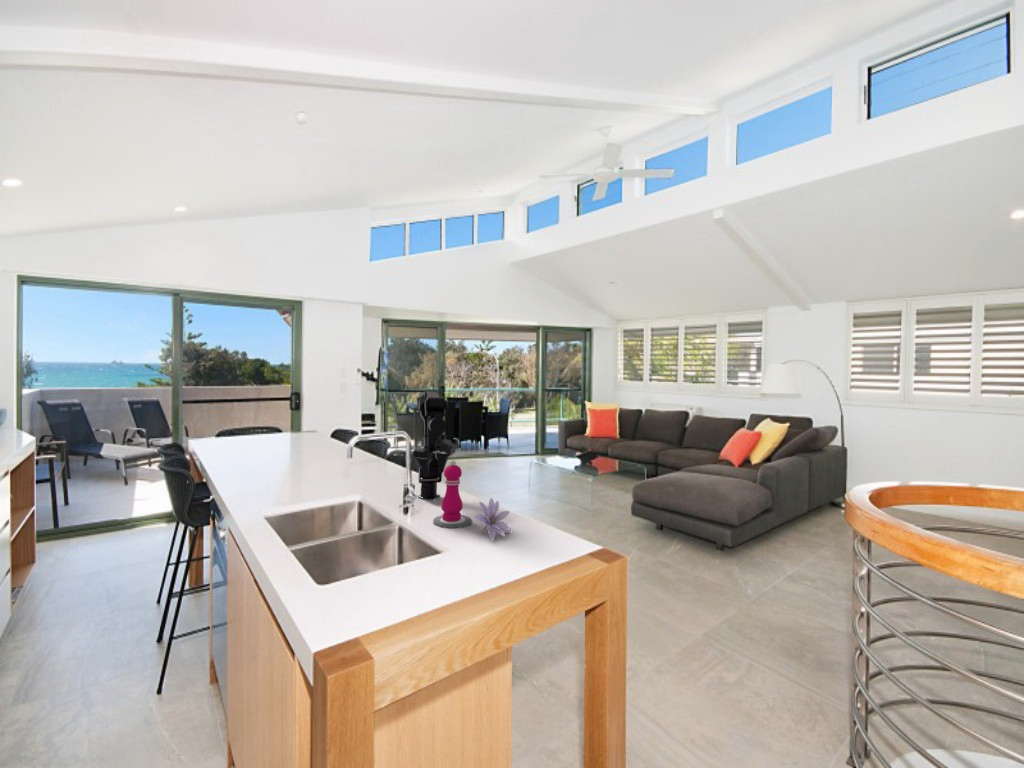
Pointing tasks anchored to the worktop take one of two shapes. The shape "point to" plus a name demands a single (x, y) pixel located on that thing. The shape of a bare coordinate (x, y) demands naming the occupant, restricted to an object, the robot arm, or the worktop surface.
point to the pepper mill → (452, 494)
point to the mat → (461, 523)
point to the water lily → (493, 519)
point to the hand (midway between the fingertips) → (434, 474)
